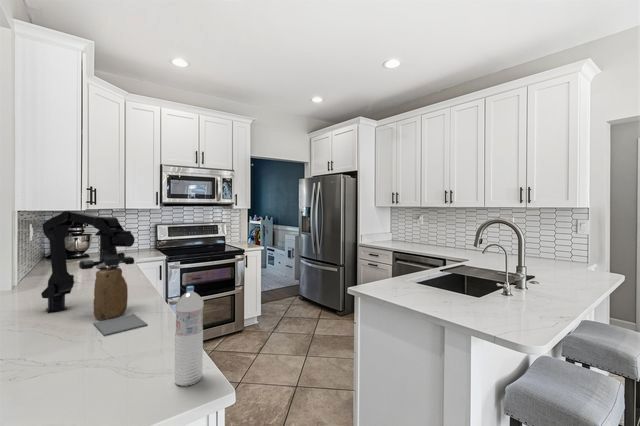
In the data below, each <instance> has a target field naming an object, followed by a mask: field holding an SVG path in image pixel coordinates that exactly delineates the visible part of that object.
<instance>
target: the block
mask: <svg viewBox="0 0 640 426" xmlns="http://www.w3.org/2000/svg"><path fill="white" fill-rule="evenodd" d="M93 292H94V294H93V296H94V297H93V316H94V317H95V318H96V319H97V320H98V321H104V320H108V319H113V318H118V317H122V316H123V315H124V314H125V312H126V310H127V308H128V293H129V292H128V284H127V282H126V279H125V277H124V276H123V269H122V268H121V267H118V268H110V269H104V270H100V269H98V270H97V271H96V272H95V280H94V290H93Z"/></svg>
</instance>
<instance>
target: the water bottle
mask: <svg viewBox="0 0 640 426" xmlns="http://www.w3.org/2000/svg"><path fill="white" fill-rule="evenodd" d="M185 290H186V292H185V293H184V294H182V295H181V296H180V297H179V298H178V299H177V301H176V303H175V316H176V317H175V332H174V333H175V336H174V338H175V339H174V343H175V344H174V382H175V384H176V385H178V386H179V385H180V386H179V387H189V386H188V385H190V386H193V385H195V384H197V383H199V382H200V381H201V380H202V378H203V361H204V360H203V359H204V358H203V355H204V354H203V352H204V348H203V347H204V327H203V325H204V322H203V321H204V304H205V303H204V299H203V298H202V297H201V296H200V294H198V293H197V292H195V291H194V290H195V286H194V285H188V286H186V289H185ZM199 380H200V381H199ZM196 382H197V383H196ZM192 384H193V385H192Z"/></svg>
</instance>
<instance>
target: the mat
mask: <svg viewBox="0 0 640 426" xmlns="http://www.w3.org/2000/svg"><path fill="white" fill-rule="evenodd" d="M92 325H93V327H95V328H96V329H97V330H98V331H99V333H101V335H102V336H103V337H107V336H111V335H116V334H120V333H123V332H127V331H132V330H135V329H140V328H143V327H147V326H148V323H147V322H145V321H144V320H143V319H141V318H140V317H139V316H137V315H136V314H134V313H133V314H127V315H124V316H123V315H121V316H118V317H116V318H113V319H108V320H98V321H96V322H95V321H94V322H93V324H92Z"/></svg>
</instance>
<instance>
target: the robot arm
mask: <svg viewBox="0 0 640 426" xmlns="http://www.w3.org/2000/svg"><path fill="white" fill-rule="evenodd" d="M74 223H80V224H84V225H89V226H92V227H93V228H94V229H96V230H98V231H97V232H96V233H95V234H94V236H96V237H99V260H96V261H94V260H91V259H87V260H80V261H79V263H78V265H79V266H78V267H79V269H81V270H91V269H93V268H94V267H95V268H96V269H98V270H104V269H110V268H120V265H119V264H125V265H134V264H135V258H134V257H133V256H130V255H129V256H126V254H125V252H119V253H118V249H117V247H122V248H123V247H124V248H130V247H132V246H133V245H134V244H135V239H136V238H135V236H134V235H133V234H132V231H131V230H125V229H124V228H123V226H122V225H121V224H120V221H119V219H118V218H117V217H116V216H97V215H93V214H87V213H83V212H78V211H76V210H65V211H62V212H61V213H60V214H57V215H55V216H53V217H51V218H49V219H47V220H45V221H44V222H43V223H42V230H43V235H44V236H45V238H47V239H48V241H49V249H50V251H49V252H50V263H51V275H50V276H49V278H48V281H47V287H46V288H45V289H43V290H42V291H41V294H40V295H41V298H42V299H47V307H46V308H45V311H46V313H48V314H50V313H55V312H60V311H65V310H68V308H67V306H66V295H68V294H71V292H72V289H73V288H74V285H75V283H76V282H75V280H74V278H75V276H74V274H70V273H69V271H68V267H67V264H68V263H67V254H66V244H65V243H66V242H65V239H66V237H67V236H68V234H69V229H70V227H71V226H73V225H74Z"/></svg>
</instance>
